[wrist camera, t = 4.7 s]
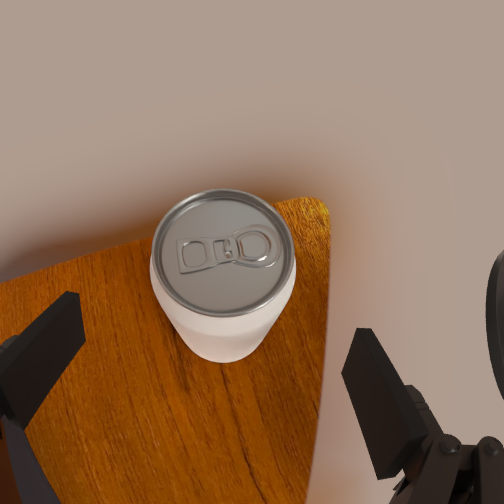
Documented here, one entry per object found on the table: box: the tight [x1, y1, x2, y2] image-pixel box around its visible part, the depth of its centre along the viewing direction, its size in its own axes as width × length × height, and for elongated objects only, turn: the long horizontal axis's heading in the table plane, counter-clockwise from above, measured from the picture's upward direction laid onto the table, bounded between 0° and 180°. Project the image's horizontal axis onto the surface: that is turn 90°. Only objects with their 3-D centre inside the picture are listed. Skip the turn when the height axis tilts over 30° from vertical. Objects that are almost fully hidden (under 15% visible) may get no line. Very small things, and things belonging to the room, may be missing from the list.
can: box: [150, 189, 296, 363], centre depth 17 cm, size 6×6×12 cm
